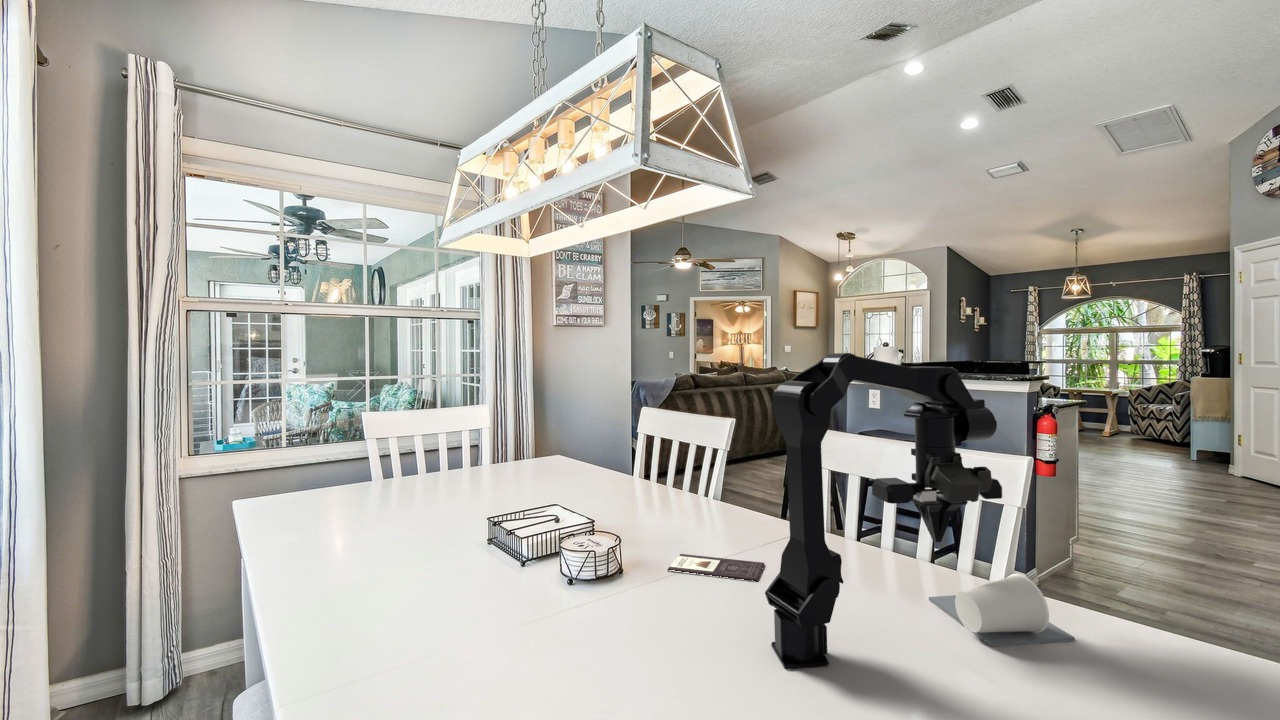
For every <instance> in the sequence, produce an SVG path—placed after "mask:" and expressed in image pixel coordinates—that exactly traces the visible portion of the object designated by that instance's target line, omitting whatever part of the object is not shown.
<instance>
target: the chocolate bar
mask: <svg viewBox="0 0 1280 720" xmlns="http://www.w3.org/2000/svg"><path fill="white" fill-rule="evenodd" d="M763 566H764V567H765V562H761V561H759V562H758V561H753V560H752V561H751V560H740V559H732V558H723V557H713V556H704V555H695V554H685V553H680V554H679V555H678V556H677V558H676V559H675V560H674V561H673V562H672V563H671V564H670V566H669V567H668V568H667V571H668V570H675V571H681V572H689V573H696V574H697V573H698V574H704V575H712V576H719V577H720V576H721V577H728V578H734V579H733V580H736V579H744V580H753V581H757V580H758V581H759V578H760V576H761V574H762V572H763V570H762V568H763V569H764V567H763ZM761 571H762V572H761ZM760 573H761V574H760ZM759 575H760V576H759ZM719 577H718V578H719ZM758 577H759V578H758ZM744 580H743V581H744ZM753 581H752V582H753ZM758 581H757V582H758Z"/></svg>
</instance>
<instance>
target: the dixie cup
mask: <svg viewBox="0 0 1280 720" xmlns="http://www.w3.org/2000/svg"><path fill="white" fill-rule="evenodd" d="M955 595H956V598H955V607H956V611H957V614H958V617H959V619H960V620H961V622H962V624H963V625H964V627H965V629H966V630H967V631H969V632H971V633H973V632H1021V631H1031V632H1034V633H1039V632H1042V631H1044V630H1045V629H1046V627H1047V625H1048V622H1050V611H1049V606H1048V603H1047V600H1046V598H1045V596H1044V594H1043V592H1042V591H1041V590H1040V588H1039V587H1038V586H1037V585H1036V583H1035V582H1034V581H1033V580H1032V579H1030V578H1029V577H1028V576H1026V575H1023V574H1021V573H1013V574H1010V575H1008V576H1007V577H1005V578H1001V579H998V580H995V581H992V582H989V583H985V584H982V585H979V586H976V587H972V588H969V589H966V590H965V589H964V590H962V591H959V592H958V593H957V594H955ZM962 624H961V625H962ZM963 625H962V626H963Z"/></svg>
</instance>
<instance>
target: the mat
mask: <svg viewBox="0 0 1280 720" xmlns="http://www.w3.org/2000/svg"><path fill="white" fill-rule="evenodd" d="M956 595H957V594H955V595H942V596H941V595H940V596H937V595H936V596H928V601H929V602H932V604H934V605H935V606H936V607H938V608H939V609H940V610H942V611H943V612H945V614H947V615H948V616H950V617H951V618H952V619H954V620H955V621H957V622H958V623H959V624H960V625H962V627H963V626H964V625H963V624H962V622H961V620H960V619H959V617H958V614H957V611H956V607H955V598H956ZM964 627H965V626H964ZM972 633H973V634H974V635H975V636H977V637H978V638H979V639H981V640H982V641H983V642H985V643H986V644H987V645H988V646H990V647H1003V646H1005V647H1006V646H1016V645H1033V644H1046V643H1061V642H1074V641H1075V640H1076V639H1075V636H1073V635H1072V634H1070V633H1068V632H1067V631H1065V630H1063V629H1061V628H1060V627H1058V626H1056V625H1054V623H1051V622H1050V621H1049V622H1048V625H1047V627H1046V629H1045V630H1044V631H1042V632H1039V633H1034V632H1031V631H1021V632H972Z"/></svg>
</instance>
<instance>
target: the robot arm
mask: <svg viewBox="0 0 1280 720" xmlns="http://www.w3.org/2000/svg"><path fill="white" fill-rule="evenodd" d="M851 383H857V384H863V385H869V386H874V387H879V388H886V389H889V390H890V389H891V390H894V391H895V392H898V393H900V395H902V396H904V397H906V398H908V399H911V400H914V402H913V403H912V405H911V406H910V407H909V408H907V409H906V410H905V412H904V413H903V416H904V417H905V418H910V419H912V418H914V437H915V438H914V442H915V443H914V444H915V445H914V446H915V447H914V448H910V455H911V456H915V473H911V480H912V481H915V482H907V481H905V480H902V479H900V478H897V477H883V478H882V477H881V478H879V477H878V478H877V477H876V478H875V480H874V481H873V483H872V484H871V491H872V492H871V493H872V494H871V495H872V496H874V497H875V498H878V499H879V500H881V501H884V502H885V503H888V504H909V503H910V502H912V503H913V504H914V506H915V508H916V509H917V511H918V512H919V515H920V516H921V518H922V520H923V523H924V524H925V526H926V528H927V531H928V534H929V535H930V537H931V540H932V541H933V542H934V543H942V541H943V538H944V536H945V533H946V531H947V528H948V526H949V524H950V520H951V519H952V516H953V515H954V513H955V511H956V510H957V509H959V508H960V507H962V506H966V505H968V502H971V503H975V502H978V501H979V497H981V498H982V499H984V500H996V499H1002V498H1003V486H1002V485H1001V483H1000V482H999V479H996V478H994V477H992V471H991V470H990V469H989V468H988V467H987V466H974V467H973V468H972V467H965V466H964V464H963V457H962V455H961V452H956V443H965V442H973V441H974V442H975V441H982V440H988V439H991V438H992V437H993V436H994V435H995V434H996V432H997V426H998V425H997V424H998V421H997V420H996V418H995V416H994V414H993V412H992V411H991V410H990V409H989V408H988V407H986V406H985V405H986V401H985V399H979V398H973V396H972V395H971V393H970V392H969V389H968V388H967V386H966V385H965V384H964V382H963V380H962V378H961V377H960V375H959V370H957V369H956V368H953V367H951V366H920V365H919V366H907V365H902V364H897V363H892V362H887V361H882V360H876V359H873V358H872V359H871V358H867V357H862V356H857V355H855V354H853V353H851V352H849V353H848V352H842V353H841V352H840V353H839V352H838V353H835V352H834V353H833V352H832V353H829V354H827V355H826V356H824V357H822V358H821V359H820V360H819V361H818V362H817V363H815V364H814V365H812V366H810V367H807V368H805V370H802V371H801V372H799V373H797V374H796V375H795V376H793V377H792V378H791V379H790V380H786V381H783V382H782V383H780V384H779V385H778V386H777V388H776V389H775V390H773V394H772V408H773V411H774V412H773V413H774V417H775V423H776V425H777V427H778V429H779V431H780V433H781V435H782V437H783V439H784V441H785V447H786V450H785V451H786V466H787V467H786V471H787V494H788V520H789V521H788V522H789V540H788V542H787V544H786V546H785V548H784V549H783V551H782V553H781V560H780V566H779V567H780V569H779V571H778V574H777V575H776V576H775V577H774V579H773V580H772V582H771V583H770V584H769V586H768V587H767V588H766V591H765V592H764V594H765V598H766V600H767V602H768V603H767V604H768V605H770V606H772V607H773V608H774V610H773V612H774V613H773V615H774V616H773V617H774V618H773V619H774V621H773V622H774V623H773V624H774V641H772V642H770V643H771V648H772V650H773V651H774V653H775V655H776V656H777V657H778V659H779V661H780V663H781V665H782V667H783V668H786V669H795V668H809V667H826V666H828V665H830V660H829V659H828V658H827V654H828V627H827V625H826V624H829V623H830V622H831V620H832V617H833V613H834V610H835V609H834V608H835V605H836V602H837V598H838V597H839V594H840V589H841V584H844V580H843V577H842V562H843V560H842V556H841V554H840V553H838V552H836V551H834V550H832V549H829V546H828V544H827V543H826V534H825V513H824V512H825V510H824V509H825V508H824V505H825V504H824V485H823V484H824V483H823V460H822V459H823V458H822V457H823V456H822V455H823V454H822V442H823V440H824V437H826V434H827V432H828V430H829V428H830V427H831V421H832V412H833V407H835V405H837V404H838V403H839V402H840V401H841V400H843V398H844V397H845V396H846V393H847V391H848V388H849V387H850V386H849V385H850V384H851ZM915 401H916V402H915Z"/></svg>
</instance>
